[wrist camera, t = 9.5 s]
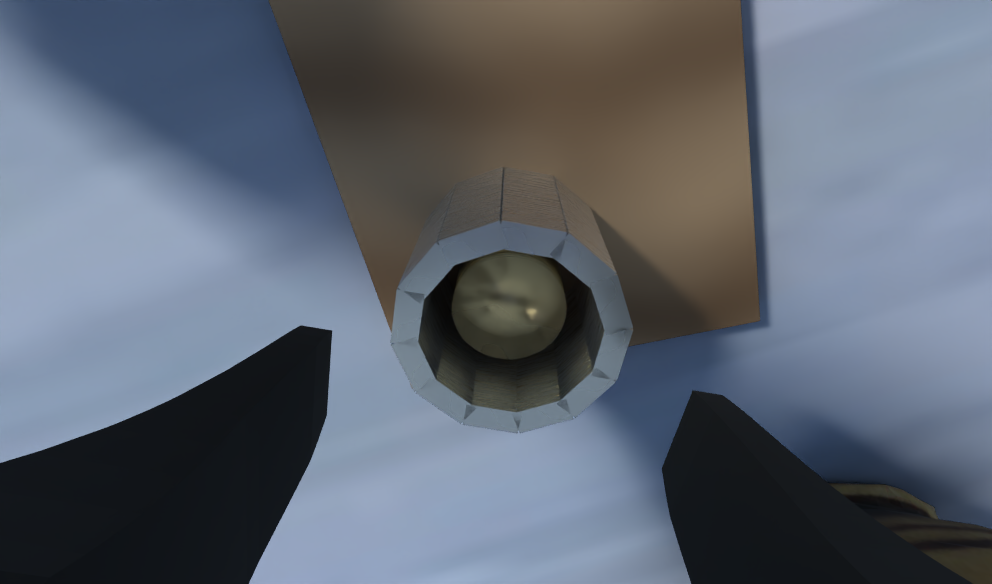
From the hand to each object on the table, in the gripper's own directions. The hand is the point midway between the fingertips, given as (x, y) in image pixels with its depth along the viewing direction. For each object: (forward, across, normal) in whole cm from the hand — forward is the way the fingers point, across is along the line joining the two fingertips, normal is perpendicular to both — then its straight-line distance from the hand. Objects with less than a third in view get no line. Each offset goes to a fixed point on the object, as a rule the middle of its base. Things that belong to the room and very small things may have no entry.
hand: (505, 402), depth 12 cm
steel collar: (+8, 0, 0) cm, 8 cm away
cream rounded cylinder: (+9, 0, 0) cm, 9 cm away
